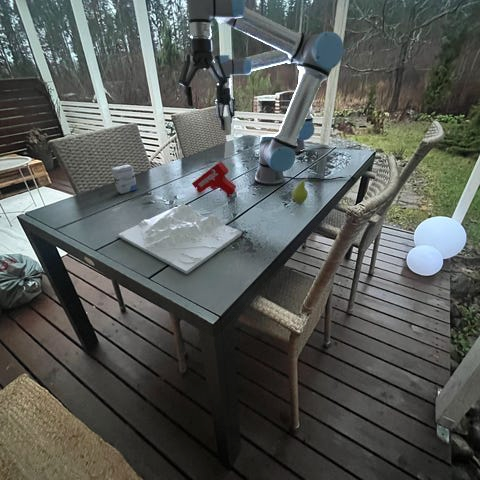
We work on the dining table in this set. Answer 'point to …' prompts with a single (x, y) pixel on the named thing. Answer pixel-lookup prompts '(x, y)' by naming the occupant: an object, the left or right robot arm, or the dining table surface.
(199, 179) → the toy gun
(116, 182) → the ink box
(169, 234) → the relief map
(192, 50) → the left robot arm
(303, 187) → the fruit
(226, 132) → the box
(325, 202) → the dining table surface
